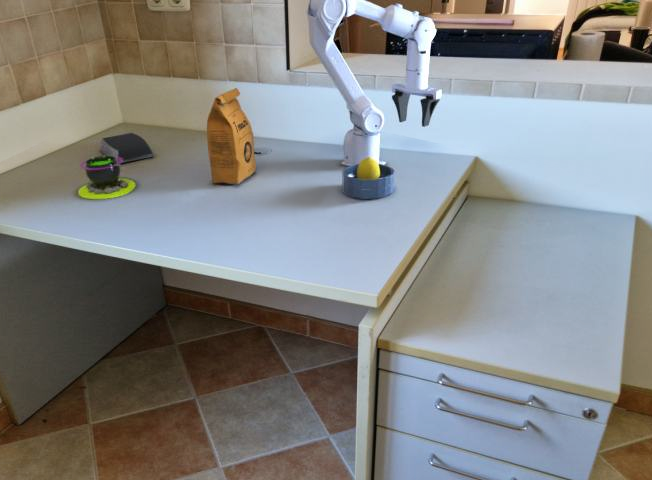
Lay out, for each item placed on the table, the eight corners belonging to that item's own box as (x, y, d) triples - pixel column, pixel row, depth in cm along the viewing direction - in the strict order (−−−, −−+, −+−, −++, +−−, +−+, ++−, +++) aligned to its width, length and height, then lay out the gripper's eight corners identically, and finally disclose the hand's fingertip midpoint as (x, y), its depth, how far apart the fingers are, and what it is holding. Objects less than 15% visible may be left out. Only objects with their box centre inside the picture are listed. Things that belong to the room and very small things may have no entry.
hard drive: (114, 166, 175) (111, 152, 173) (97, 150, 190) (94, 137, 187) (156, 157, 180) (154, 143, 178) (137, 142, 194) (135, 130, 192)
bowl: (332, 192, 148) (331, 172, 145) (365, 179, 155) (365, 159, 152) (370, 204, 140) (371, 183, 138) (403, 189, 147) (404, 169, 144)
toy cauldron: (146, 182, 162) (139, 141, 156) (111, 202, 151) (102, 158, 145) (102, 177, 167) (93, 137, 161) (66, 195, 156) (54, 153, 150)
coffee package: (262, 173, 163) (256, 87, 150) (239, 188, 154) (230, 98, 141) (231, 169, 167) (222, 85, 154) (206, 184, 158) (195, 96, 146)
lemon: (381, 186, 149) (382, 153, 144) (376, 194, 144) (377, 161, 140) (359, 184, 150) (360, 152, 146) (354, 192, 146) (354, 159, 141)
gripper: (450, 69, 151) (445, 124, 159) (404, 63, 160) (401, 116, 168) (433, 74, 147) (429, 130, 155) (387, 68, 156) (385, 121, 164)
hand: (413, 123), depth 161 cm, fingers open, 7 cm apart
